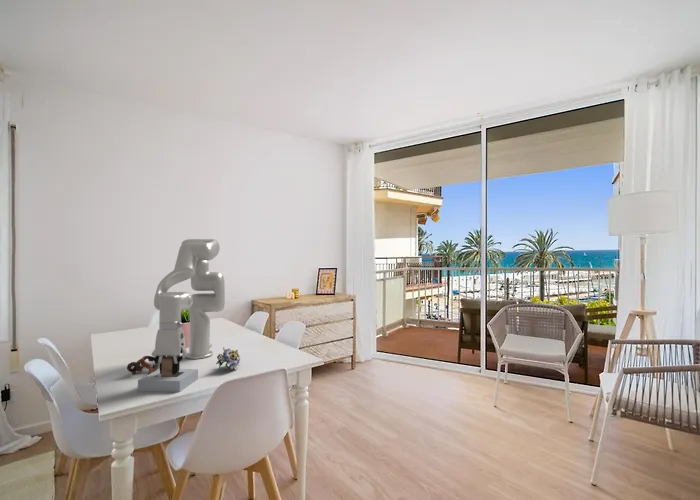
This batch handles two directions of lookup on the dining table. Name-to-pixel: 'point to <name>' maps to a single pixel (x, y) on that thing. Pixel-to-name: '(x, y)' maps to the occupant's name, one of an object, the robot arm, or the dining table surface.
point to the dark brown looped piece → (143, 365)
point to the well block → (168, 381)
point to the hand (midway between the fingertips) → (169, 372)
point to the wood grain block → (168, 367)
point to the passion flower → (229, 358)
